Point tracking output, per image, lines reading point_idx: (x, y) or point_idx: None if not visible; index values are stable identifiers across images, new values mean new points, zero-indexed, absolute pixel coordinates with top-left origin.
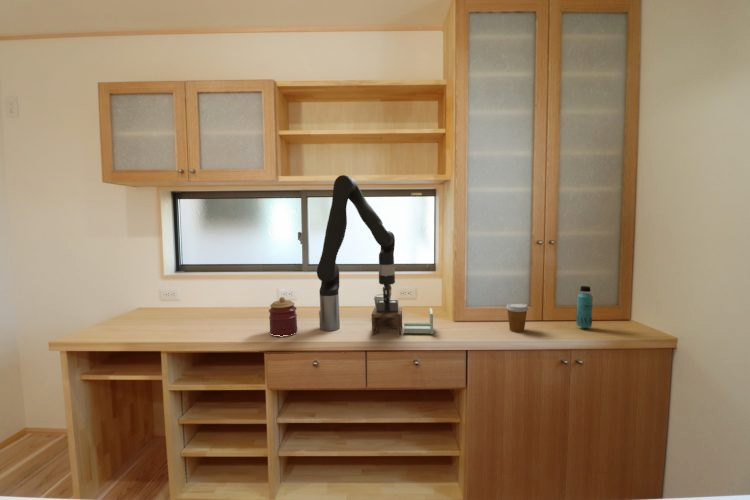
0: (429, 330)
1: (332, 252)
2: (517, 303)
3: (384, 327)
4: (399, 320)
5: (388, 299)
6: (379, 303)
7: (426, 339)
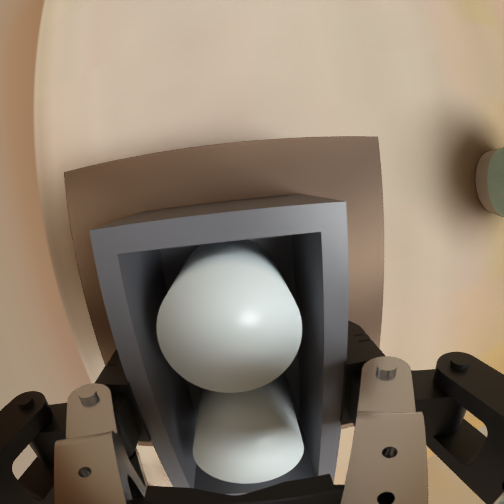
0: None
1: None
2: None
3: None
4: None
5: (31, 474)
6: (107, 289)
7: (148, 446)
